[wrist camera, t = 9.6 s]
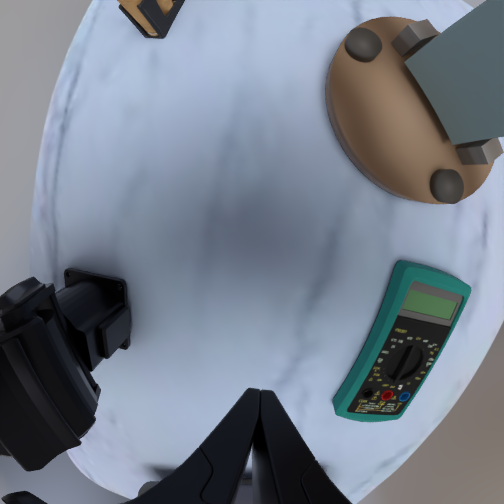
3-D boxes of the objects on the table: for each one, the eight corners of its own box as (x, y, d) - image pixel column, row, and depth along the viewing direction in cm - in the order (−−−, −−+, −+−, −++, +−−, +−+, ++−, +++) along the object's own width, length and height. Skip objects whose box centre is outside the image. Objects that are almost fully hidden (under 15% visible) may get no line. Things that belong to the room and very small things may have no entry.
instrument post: (452, 145, 13) (598, 128, 2) (404, 62, 12) (520, -22, 1) (481, 124, 13) (605, 105, 2) (438, 49, 12) (543, -15, 1)
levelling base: (389, 235, 19) (426, 254, 13) (285, 67, 16) (290, 30, 11) (499, 156, 16) (541, 156, 11) (418, 16, 14) (446, -12, 9)
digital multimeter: (327, 403, 23) (332, 424, 20) (395, 254, 19) (412, 265, 17) (390, 408, 23) (398, 427, 20) (459, 276, 19) (478, 287, 17)
